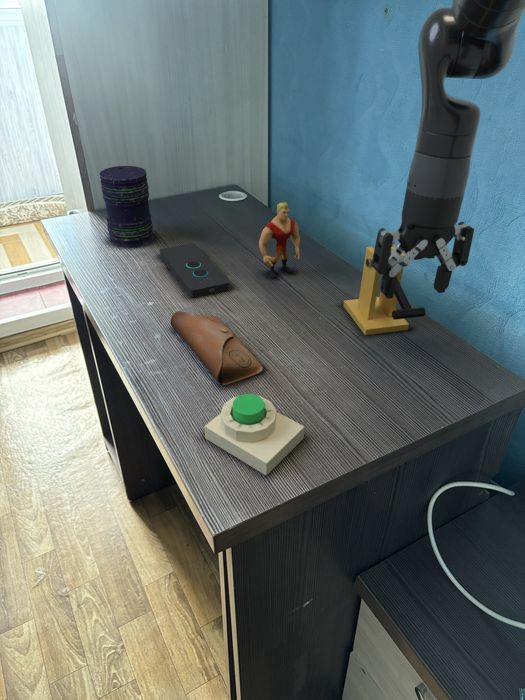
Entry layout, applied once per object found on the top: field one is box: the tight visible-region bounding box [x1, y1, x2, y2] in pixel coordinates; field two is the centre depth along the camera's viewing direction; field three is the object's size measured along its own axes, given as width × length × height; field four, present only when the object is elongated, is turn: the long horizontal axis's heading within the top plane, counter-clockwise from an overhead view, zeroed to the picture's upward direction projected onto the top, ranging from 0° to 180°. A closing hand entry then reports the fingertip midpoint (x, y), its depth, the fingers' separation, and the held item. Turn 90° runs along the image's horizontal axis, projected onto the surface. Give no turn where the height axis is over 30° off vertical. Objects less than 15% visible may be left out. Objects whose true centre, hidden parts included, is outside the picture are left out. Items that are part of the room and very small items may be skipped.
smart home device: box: [159, 242, 230, 299], centre depth 105 cm, size 8×2×20 cm
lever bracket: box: [343, 245, 410, 336], centre depth 89 cm, size 10×8×13 cm
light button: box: [233, 393, 265, 425], centre depth 65 cm, size 4×4×2 cm
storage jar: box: [99, 165, 154, 249], centre depth 113 cm, size 10×10×15 cm
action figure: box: [258, 201, 301, 279], centre depth 101 cm, size 10×4×15 cm, turn 123°
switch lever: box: [389, 251, 426, 320], centre depth 83 cm, size 13×5×2 cm, turn 14°
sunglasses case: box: [170, 310, 264, 387], centre depth 82 cm, size 18×7×7 cm, turn 31°
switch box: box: [204, 395, 305, 476], centre depth 66 cm, size 10×8×4 cm
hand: (413, 293), depth 78 cm, fingers open, 8 cm apart
